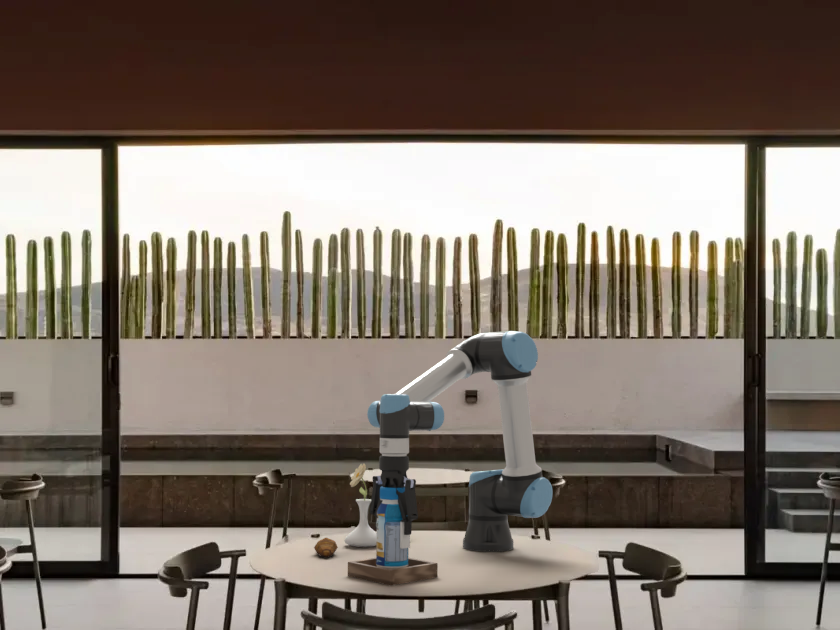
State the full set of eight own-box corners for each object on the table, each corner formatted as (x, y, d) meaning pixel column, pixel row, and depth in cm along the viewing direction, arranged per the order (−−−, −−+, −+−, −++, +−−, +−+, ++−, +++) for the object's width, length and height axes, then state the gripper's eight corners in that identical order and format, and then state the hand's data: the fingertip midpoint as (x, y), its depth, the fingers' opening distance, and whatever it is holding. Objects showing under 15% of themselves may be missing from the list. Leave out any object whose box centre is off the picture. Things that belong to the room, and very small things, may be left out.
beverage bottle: (398, 571, 238) (399, 489, 240) (369, 567, 242) (370, 487, 244) (415, 565, 245) (415, 486, 247) (386, 562, 250) (387, 484, 251)
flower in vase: (346, 543, 296) (347, 460, 298) (383, 543, 296) (384, 461, 298) (341, 550, 283) (342, 463, 285) (380, 550, 283) (381, 464, 285)
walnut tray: (394, 568, 255) (394, 554, 255) (437, 577, 243) (437, 563, 244) (347, 576, 244) (347, 561, 244) (390, 585, 232) (390, 570, 232)
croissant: (339, 559, 268) (339, 540, 269) (314, 559, 267) (314, 541, 268) (336, 551, 282) (336, 533, 282) (313, 551, 281) (313, 534, 281)
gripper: (356, 453, 251) (354, 542, 249) (411, 457, 236) (410, 552, 234) (377, 452, 256) (376, 539, 254) (433, 456, 241) (432, 549, 239)
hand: (393, 545), depth 244 cm, fingers open, 8 cm apart
